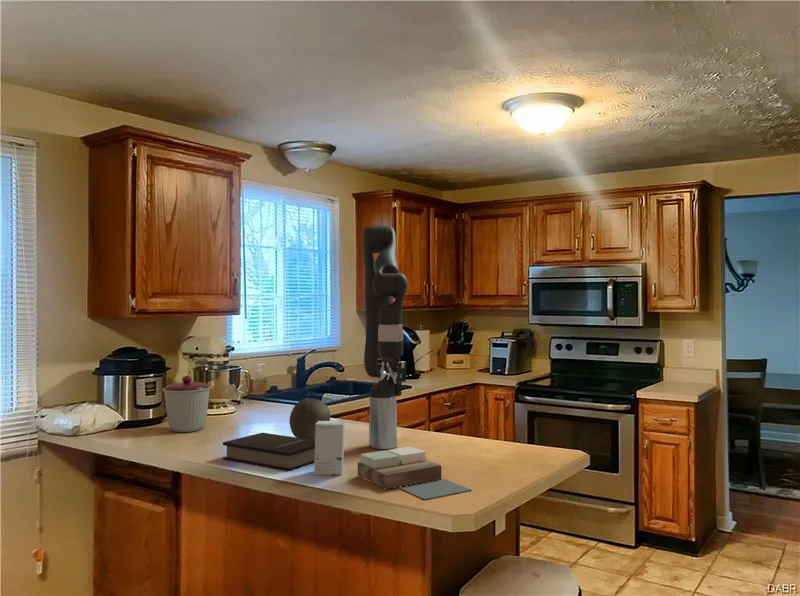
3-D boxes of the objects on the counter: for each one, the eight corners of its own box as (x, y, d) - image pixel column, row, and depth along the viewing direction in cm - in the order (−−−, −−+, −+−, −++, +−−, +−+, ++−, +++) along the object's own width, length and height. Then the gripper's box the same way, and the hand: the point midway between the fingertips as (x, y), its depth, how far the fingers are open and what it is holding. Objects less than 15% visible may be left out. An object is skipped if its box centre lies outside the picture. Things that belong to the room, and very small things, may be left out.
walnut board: (357, 476, 190) (357, 462, 190) (410, 467, 200) (410, 453, 200) (386, 489, 177) (386, 474, 177) (441, 479, 186) (441, 465, 186)
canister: (198, 435, 248) (198, 379, 248) (153, 434, 251) (153, 378, 251) (219, 425, 266) (218, 373, 266) (177, 424, 269) (176, 372, 269)
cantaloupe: (303, 446, 228) (302, 403, 228) (282, 440, 239) (282, 398, 239) (337, 440, 237) (337, 398, 237) (316, 434, 248) (315, 394, 248)
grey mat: (399, 488, 178) (399, 487, 178) (445, 480, 186) (444, 479, 186) (424, 500, 168) (424, 499, 168) (471, 490, 175) (471, 489, 175)
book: (330, 459, 212) (330, 440, 212) (288, 472, 196) (288, 452, 196) (266, 448, 228) (266, 431, 228) (223, 460, 211) (222, 442, 211)
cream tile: (387, 458, 194) (387, 449, 194) (410, 454, 199) (410, 446, 199) (402, 464, 188) (402, 455, 188) (425, 460, 192) (425, 451, 192)
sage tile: (360, 462, 190) (360, 454, 190) (384, 458, 194) (384, 450, 194) (374, 468, 183) (374, 459, 183) (399, 464, 187) (399, 455, 187)
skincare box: (314, 475, 192) (313, 424, 191) (316, 470, 198) (316, 420, 197) (343, 475, 191) (342, 423, 191) (345, 469, 197) (344, 419, 197)
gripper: (368, 338, 204) (368, 392, 204) (392, 341, 192) (393, 398, 192) (389, 337, 208) (389, 390, 208) (414, 340, 196) (414, 396, 196)
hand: (391, 394), depth 200 cm, fingers open, 7 cm apart
